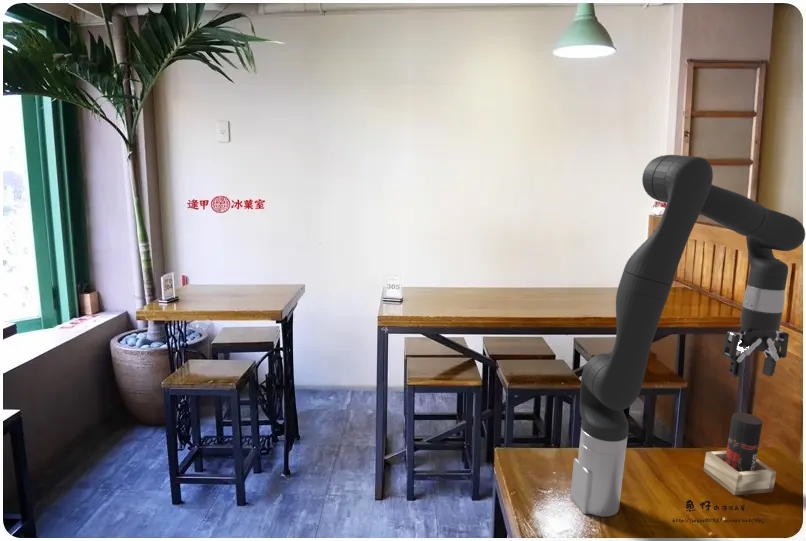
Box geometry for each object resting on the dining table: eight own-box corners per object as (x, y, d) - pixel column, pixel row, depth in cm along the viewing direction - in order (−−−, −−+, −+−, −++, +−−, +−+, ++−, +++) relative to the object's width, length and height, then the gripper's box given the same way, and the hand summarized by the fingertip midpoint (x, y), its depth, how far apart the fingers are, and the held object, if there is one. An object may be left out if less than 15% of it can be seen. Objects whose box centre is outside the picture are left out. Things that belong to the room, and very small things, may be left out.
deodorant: (725, 467, 133) (734, 410, 130) (753, 476, 130) (764, 418, 127) (720, 477, 129) (730, 418, 126) (750, 487, 125) (760, 427, 122)
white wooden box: (734, 495, 124) (737, 475, 123) (703, 470, 133) (706, 452, 132) (772, 491, 126) (776, 472, 125) (739, 467, 135) (742, 449, 134)
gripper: (747, 312, 117) (735, 383, 120) (805, 310, 119) (792, 381, 122) (721, 302, 124) (711, 370, 127) (776, 301, 126) (764, 368, 130)
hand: (751, 375), depth 125 cm, fingers open, 8 cm apart
